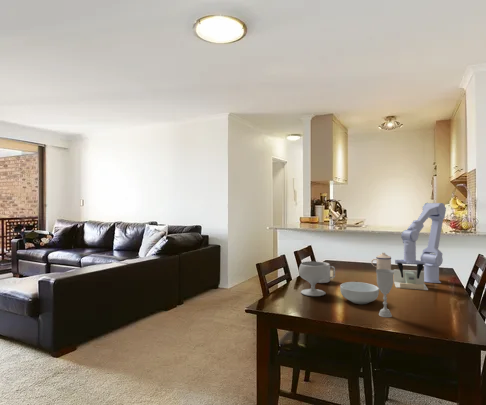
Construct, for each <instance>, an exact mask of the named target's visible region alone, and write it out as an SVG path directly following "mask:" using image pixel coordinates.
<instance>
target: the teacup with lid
mask: <svg viewBox="0 0 486 405" xmlns="http://www.w3.org/2000/svg"><path fill="white" fill-rule="evenodd" d="M375 257H376V258H373V259H371V265H372V266H373V267H375V268H376V270H377V269H388V270H392V257H391V255H388V254H386V252H382V253H381V254H379V255H376V256H375ZM373 261H376V265H375V264H374V263H373Z"/></svg>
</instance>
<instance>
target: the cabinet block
mask: <svg viewBox="0 0 486 405" xmlns="http://www.w3.org/2000/svg"><path fill="white" fill-rule="evenodd" d="M405 283H410V284H416V276H415V274H414V273H413V272H405Z"/></svg>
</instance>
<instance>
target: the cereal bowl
mask: <svg viewBox="0 0 486 405" xmlns="http://www.w3.org/2000/svg"><path fill="white" fill-rule="evenodd" d="M339 286H340V287H339V289H340V290H339V291H340V293H341V295H342V297H343V298H344V299H346V300H348V301H349V302H351V303H352V304H356V305H357V304H358V305H368V304H369V303H371V302H374V301H375V300H377V298H378V296H379V293H380V289H379V287H378V285H374V284H373V283H367V282H361V281H347V282H343V283H341V284H340V285H339Z"/></svg>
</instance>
